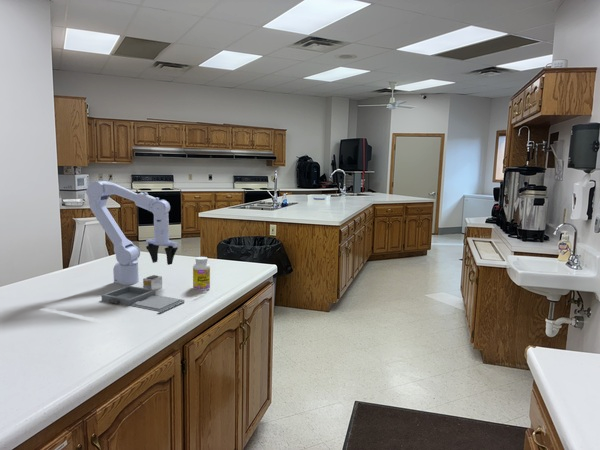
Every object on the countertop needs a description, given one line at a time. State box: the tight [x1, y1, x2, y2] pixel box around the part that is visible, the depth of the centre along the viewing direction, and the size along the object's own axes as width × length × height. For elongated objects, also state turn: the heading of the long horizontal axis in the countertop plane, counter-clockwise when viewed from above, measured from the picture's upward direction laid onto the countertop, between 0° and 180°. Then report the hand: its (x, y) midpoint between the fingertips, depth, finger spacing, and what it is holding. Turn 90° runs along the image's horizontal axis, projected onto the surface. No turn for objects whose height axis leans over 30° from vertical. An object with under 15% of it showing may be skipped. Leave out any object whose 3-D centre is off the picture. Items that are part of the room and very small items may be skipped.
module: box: [142, 274, 163, 291], centre depth 171 cm, size 4×6×5 cm, turn 156°
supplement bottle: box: [192, 256, 211, 291], centre depth 175 cm, size 7×7×13 cm
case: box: [101, 285, 185, 315], centre depth 157 cm, size 26×14×3 cm, turn 67°
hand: (162, 263), depth 179 cm, fingers open, 7 cm apart
